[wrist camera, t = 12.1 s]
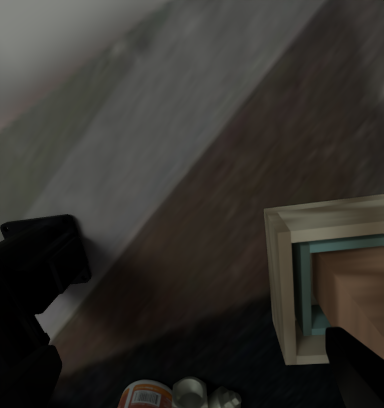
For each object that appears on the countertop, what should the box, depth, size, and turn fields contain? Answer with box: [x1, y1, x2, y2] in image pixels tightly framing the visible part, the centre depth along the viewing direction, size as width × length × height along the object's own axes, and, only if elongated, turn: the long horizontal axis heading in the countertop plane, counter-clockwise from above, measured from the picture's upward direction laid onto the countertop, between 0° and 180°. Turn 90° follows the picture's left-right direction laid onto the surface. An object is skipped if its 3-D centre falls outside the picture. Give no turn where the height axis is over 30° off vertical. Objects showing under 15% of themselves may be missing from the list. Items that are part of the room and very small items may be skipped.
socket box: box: [264, 194, 384, 365], centre depth 19 cm, size 11×11×4 cm
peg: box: [312, 246, 384, 359], centre depth 16 cm, size 4×4×9 cm
